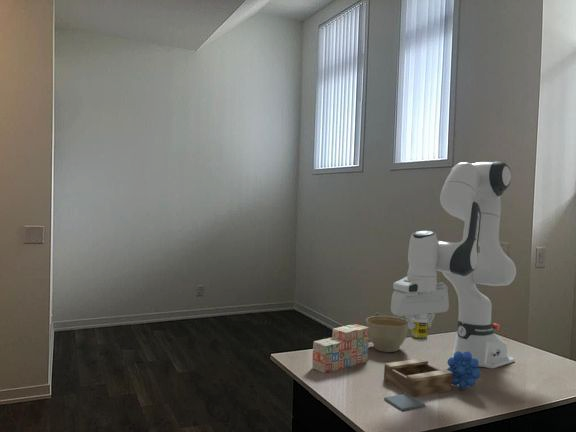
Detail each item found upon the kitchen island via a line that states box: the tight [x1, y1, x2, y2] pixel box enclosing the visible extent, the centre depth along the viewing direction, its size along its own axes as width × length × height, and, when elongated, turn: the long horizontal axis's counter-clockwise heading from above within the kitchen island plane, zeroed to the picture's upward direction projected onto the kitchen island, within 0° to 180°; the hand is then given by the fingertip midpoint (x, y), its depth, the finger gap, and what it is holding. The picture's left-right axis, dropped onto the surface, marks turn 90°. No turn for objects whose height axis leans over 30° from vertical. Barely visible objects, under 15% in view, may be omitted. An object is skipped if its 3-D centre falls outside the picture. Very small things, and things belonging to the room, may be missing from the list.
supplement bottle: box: [411, 314, 429, 342], centre depth 152 cm, size 5×5×8 cm
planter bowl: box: [365, 315, 409, 353], centre depth 189 cm, size 16×16×11 cm
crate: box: [383, 357, 453, 398], centre depth 153 cm, size 15×14×5 cm
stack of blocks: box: [311, 323, 370, 374], centre depth 169 cm, size 21×6×12 cm, turn 130°
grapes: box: [446, 351, 482, 390], centre depth 151 cm, size 12×7×12 cm, turn 36°
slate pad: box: [383, 393, 426, 412], centre depth 139 cm, size 8×8×1 cm
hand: (419, 328), depth 152 cm, fingers closed on supplement bottle, 5 cm apart
